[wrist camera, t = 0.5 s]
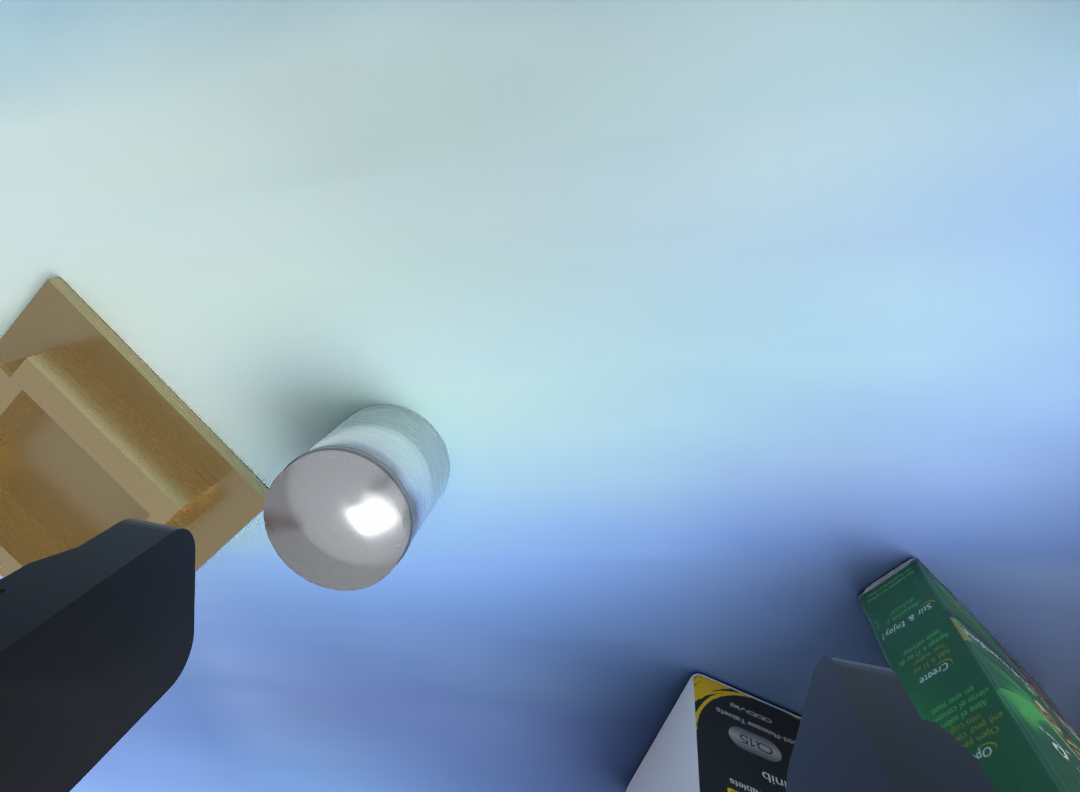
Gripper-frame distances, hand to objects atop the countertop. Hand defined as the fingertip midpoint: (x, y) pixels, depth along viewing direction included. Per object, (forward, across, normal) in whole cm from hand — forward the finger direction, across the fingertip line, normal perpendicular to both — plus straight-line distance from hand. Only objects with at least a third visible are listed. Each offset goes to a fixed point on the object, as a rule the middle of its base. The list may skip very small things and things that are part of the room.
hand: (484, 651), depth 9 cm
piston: (+18, +7, +5) cm, 20 cm away
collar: (+19, +20, +9) cm, 29 cm away
